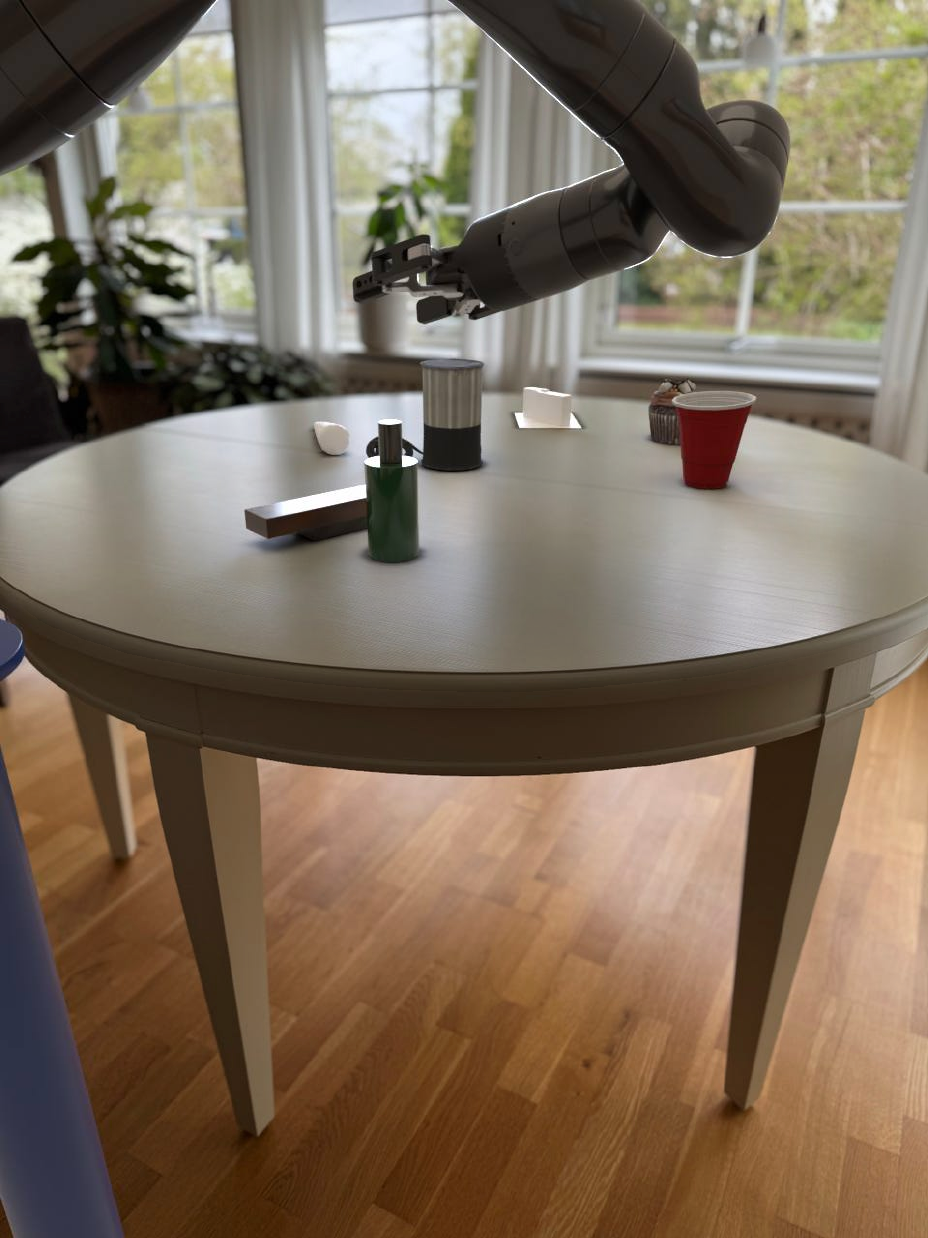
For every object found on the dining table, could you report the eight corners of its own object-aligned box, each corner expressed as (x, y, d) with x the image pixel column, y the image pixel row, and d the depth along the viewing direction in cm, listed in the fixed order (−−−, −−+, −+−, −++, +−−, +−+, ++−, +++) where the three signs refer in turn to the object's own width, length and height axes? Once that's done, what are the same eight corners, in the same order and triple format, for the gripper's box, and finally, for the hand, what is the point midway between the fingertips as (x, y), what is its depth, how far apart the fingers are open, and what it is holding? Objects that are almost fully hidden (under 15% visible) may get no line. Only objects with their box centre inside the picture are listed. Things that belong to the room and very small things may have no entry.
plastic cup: (651, 475, 122) (659, 390, 117) (720, 472, 124) (731, 387, 119) (684, 496, 112) (694, 403, 108) (759, 492, 115) (772, 400, 110)
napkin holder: (582, 428, 153) (584, 395, 151) (519, 428, 153) (520, 395, 151) (571, 412, 167) (573, 382, 165) (513, 412, 167) (514, 382, 165)
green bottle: (388, 566, 88) (384, 429, 82) (358, 552, 92) (352, 421, 86) (429, 554, 91) (427, 422, 86) (398, 542, 95) (395, 414, 89)
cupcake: (648, 444, 141) (653, 382, 137) (643, 432, 150) (649, 374, 146) (707, 446, 140) (715, 383, 136) (699, 434, 149) (706, 375, 145)
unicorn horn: (336, 425, 154) (335, 398, 152) (351, 455, 133) (349, 424, 131) (310, 426, 153) (308, 399, 151) (320, 457, 132) (318, 426, 130)
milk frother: (495, 467, 127) (497, 363, 121) (400, 481, 119) (397, 371, 113) (446, 448, 138) (445, 353, 132) (357, 460, 130) (352, 359, 124)
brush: (269, 553, 91) (266, 519, 90) (247, 542, 95) (243, 509, 93) (402, 520, 102) (402, 489, 101) (379, 511, 105) (377, 481, 104)
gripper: (576, 230, 75) (434, 281, 85) (478, 172, 64) (329, 239, 74) (581, 316, 75) (439, 357, 85) (484, 273, 64) (334, 327, 74)
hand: (388, 302), depth 80 cm, fingers open, 8 cm apart
